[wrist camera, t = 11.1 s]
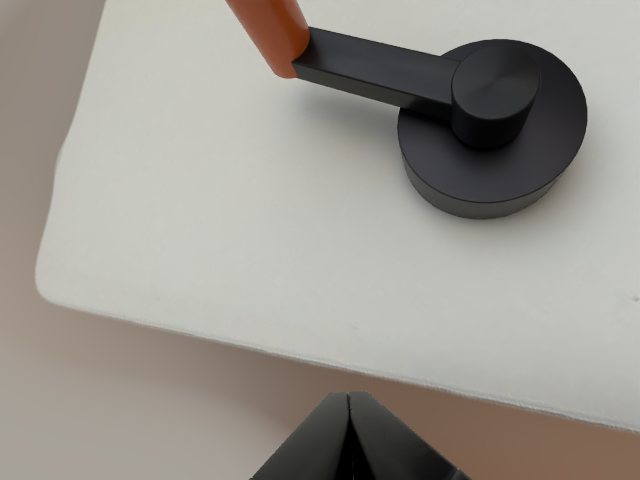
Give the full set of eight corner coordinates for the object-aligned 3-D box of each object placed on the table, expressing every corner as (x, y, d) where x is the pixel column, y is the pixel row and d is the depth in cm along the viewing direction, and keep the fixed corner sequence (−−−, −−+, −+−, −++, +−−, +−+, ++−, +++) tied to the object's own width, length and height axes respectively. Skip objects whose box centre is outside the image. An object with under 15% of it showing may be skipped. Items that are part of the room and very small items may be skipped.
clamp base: (605, 135, 19) (633, 104, 17) (484, 251, 20) (491, 240, 17) (477, 48, 22) (482, 9, 19) (372, 153, 23) (363, 129, 20)
